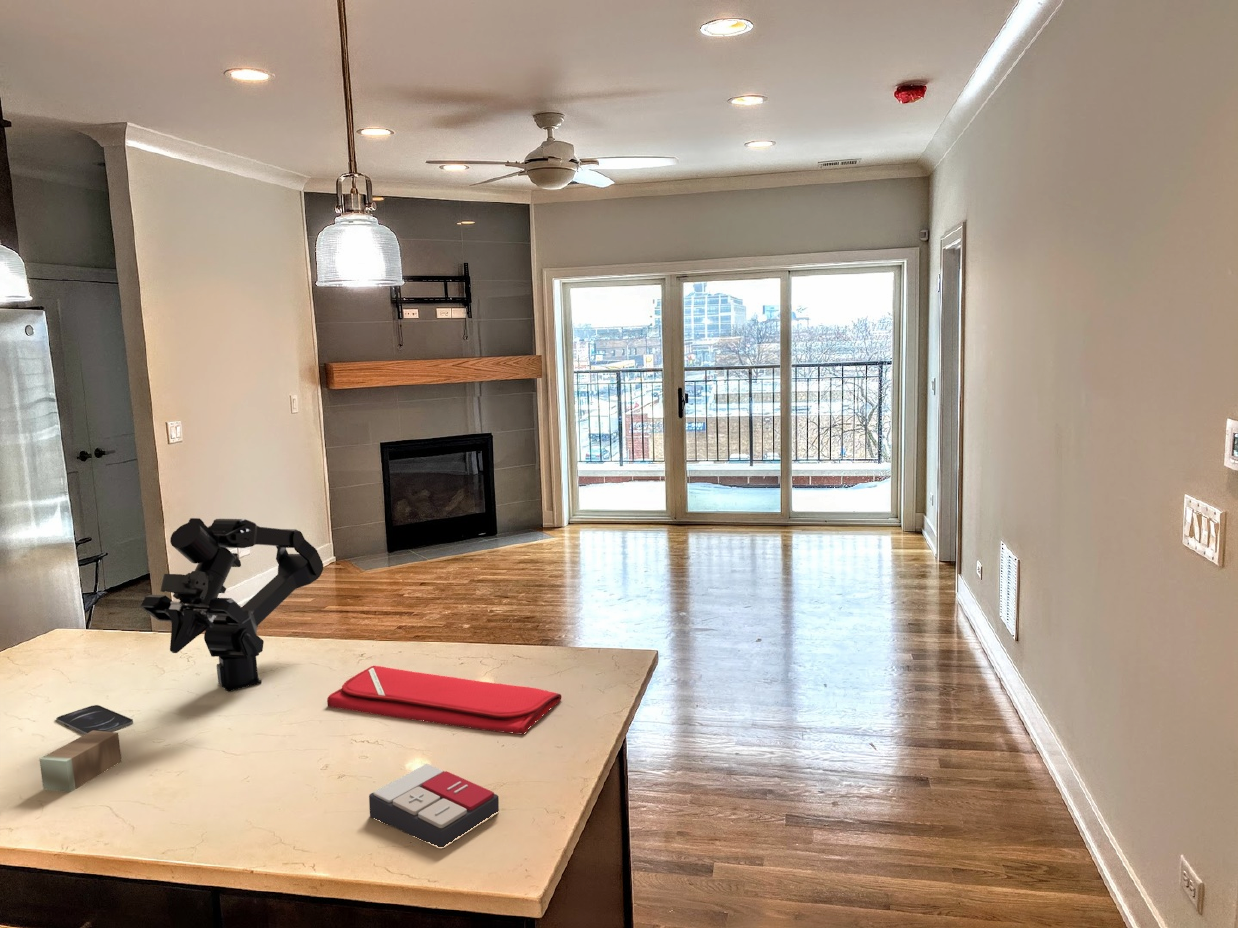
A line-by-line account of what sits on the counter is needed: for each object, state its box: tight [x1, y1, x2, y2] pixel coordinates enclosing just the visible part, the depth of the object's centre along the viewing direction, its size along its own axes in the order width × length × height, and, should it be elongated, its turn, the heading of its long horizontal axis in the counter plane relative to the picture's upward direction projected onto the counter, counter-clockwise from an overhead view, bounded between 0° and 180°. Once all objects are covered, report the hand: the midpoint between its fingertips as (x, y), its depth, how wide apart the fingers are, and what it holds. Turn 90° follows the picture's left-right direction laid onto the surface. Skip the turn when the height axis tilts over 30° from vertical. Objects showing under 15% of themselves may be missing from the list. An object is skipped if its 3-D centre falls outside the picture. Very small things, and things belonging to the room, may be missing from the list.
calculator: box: [368, 763, 500, 847], centre depth 122 cm, size 11×4×15 cm
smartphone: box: [55, 704, 134, 736], centre depth 158 cm, size 8×1×15 cm
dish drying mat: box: [326, 665, 562, 735], centre depth 160 cm, size 16×41×4 cm, turn 69°
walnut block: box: [38, 730, 123, 793], centre depth 137 cm, size 5×5×10 cm
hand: (173, 652), depth 156 cm, fingers closed
